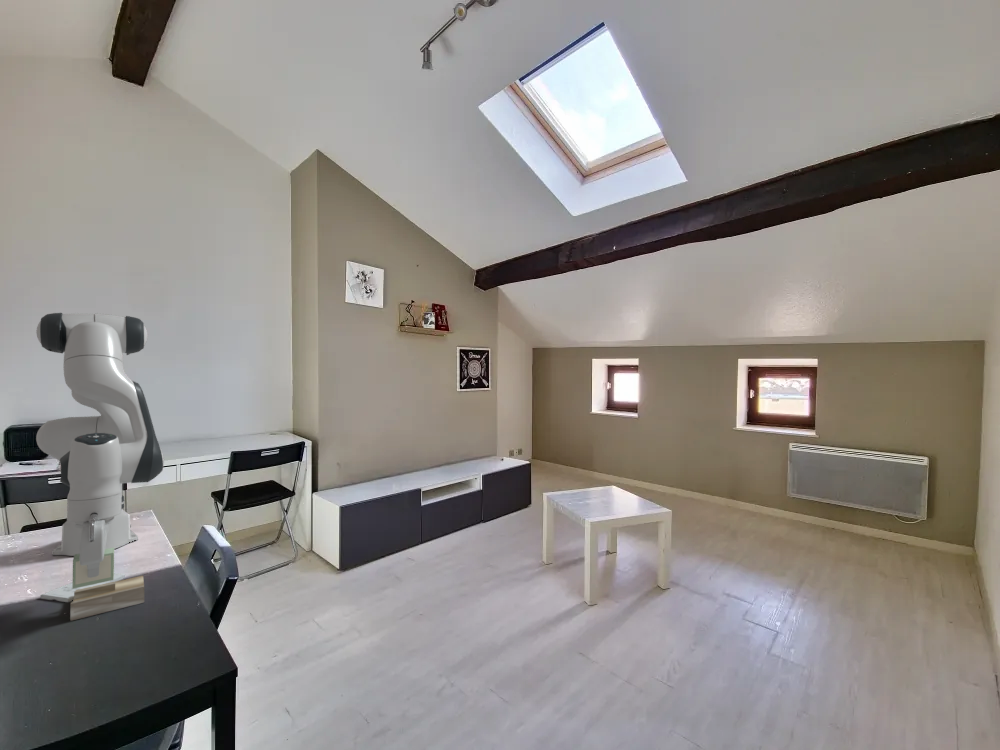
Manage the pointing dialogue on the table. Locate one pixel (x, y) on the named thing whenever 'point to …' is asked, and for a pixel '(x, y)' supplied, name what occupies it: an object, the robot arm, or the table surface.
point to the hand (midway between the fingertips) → (94, 571)
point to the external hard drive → (67, 592)
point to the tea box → (104, 570)
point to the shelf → (107, 597)
